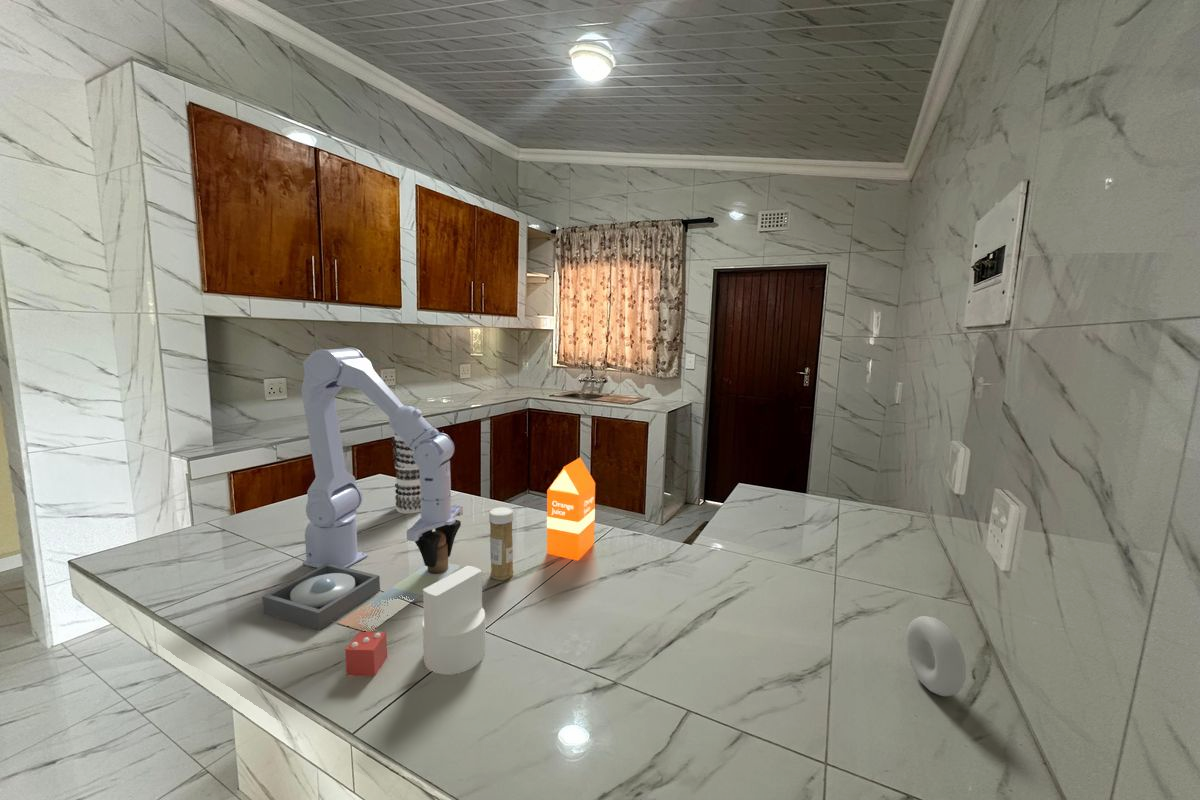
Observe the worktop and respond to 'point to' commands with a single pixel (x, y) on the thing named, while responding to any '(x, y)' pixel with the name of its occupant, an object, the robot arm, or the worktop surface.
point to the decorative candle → (406, 478)
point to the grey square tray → (319, 618)
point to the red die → (366, 654)
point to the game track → (398, 594)
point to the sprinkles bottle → (501, 543)
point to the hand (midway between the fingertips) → (437, 560)
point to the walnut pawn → (440, 555)
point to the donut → (935, 656)
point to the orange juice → (571, 512)
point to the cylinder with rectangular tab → (454, 622)
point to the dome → (322, 589)
